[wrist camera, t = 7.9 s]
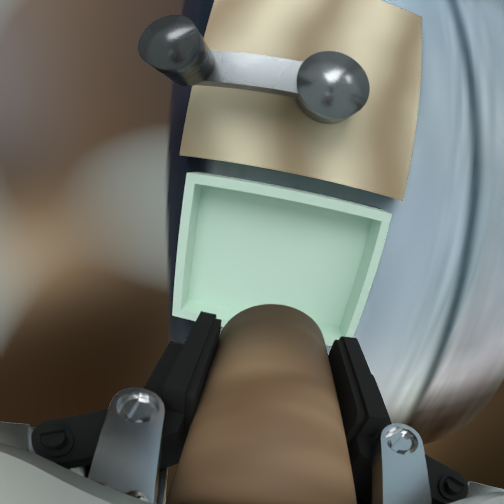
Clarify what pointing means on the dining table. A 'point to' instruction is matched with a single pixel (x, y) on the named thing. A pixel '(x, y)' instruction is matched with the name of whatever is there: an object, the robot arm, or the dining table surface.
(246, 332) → the peg
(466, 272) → the dining table surface
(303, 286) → the tray
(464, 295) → the dining table surface
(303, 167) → the plate
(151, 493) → the robot arm
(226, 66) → the crank
